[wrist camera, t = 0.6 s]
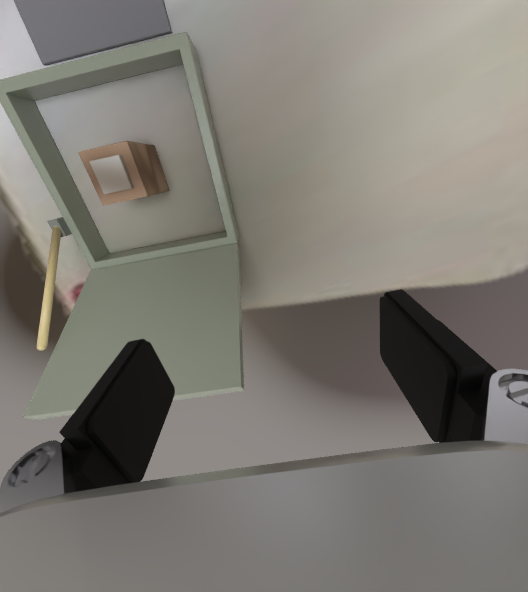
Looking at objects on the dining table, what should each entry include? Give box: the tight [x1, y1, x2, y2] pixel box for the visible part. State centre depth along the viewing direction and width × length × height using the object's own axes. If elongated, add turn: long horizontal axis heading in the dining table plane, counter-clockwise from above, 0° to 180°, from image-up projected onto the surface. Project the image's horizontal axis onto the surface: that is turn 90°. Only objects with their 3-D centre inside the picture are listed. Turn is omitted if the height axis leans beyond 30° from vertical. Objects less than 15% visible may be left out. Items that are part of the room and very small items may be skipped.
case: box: [0, 32, 244, 420], centre depth 25 cm, size 29×21×20 cm
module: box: [78, 141, 169, 205], centre depth 28 cm, size 5×5×8 cm
